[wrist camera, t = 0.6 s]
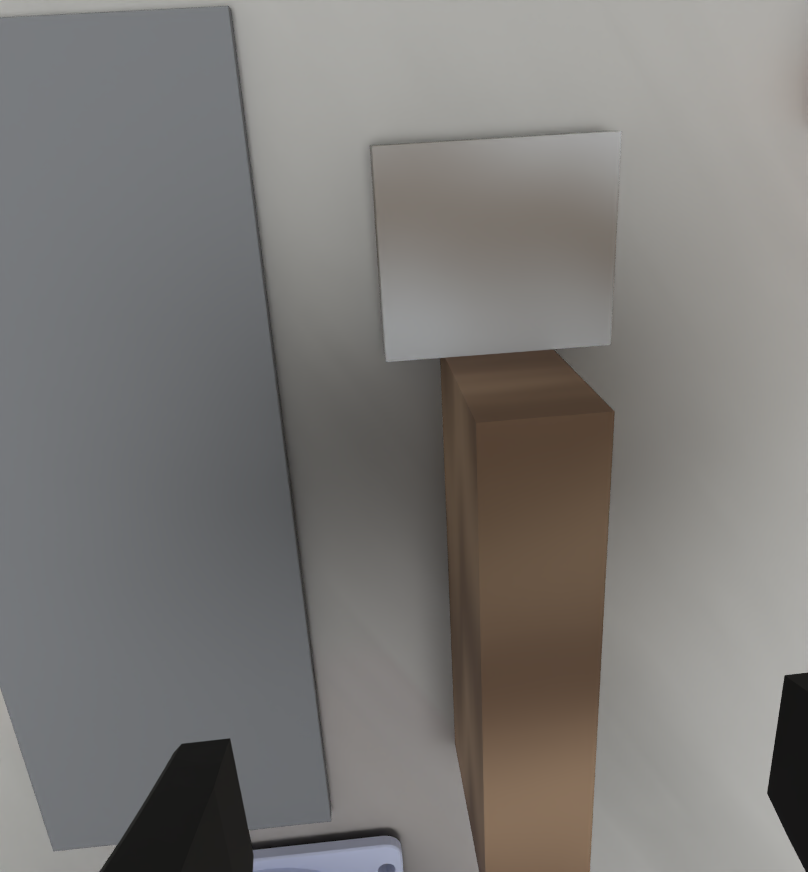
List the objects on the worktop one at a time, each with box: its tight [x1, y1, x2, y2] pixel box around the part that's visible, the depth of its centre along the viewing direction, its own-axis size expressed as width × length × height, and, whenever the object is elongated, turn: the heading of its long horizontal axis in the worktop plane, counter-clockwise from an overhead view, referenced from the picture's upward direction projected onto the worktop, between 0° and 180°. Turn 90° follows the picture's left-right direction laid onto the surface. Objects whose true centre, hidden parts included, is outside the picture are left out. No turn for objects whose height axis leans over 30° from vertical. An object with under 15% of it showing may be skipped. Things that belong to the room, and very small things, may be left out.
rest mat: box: [0, 6, 331, 851], centre depth 18 cm, size 21×8×1 cm, turn 3°
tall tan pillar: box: [370, 131, 622, 872], centre depth 17 cm, size 16×5×5 cm, turn 3°
